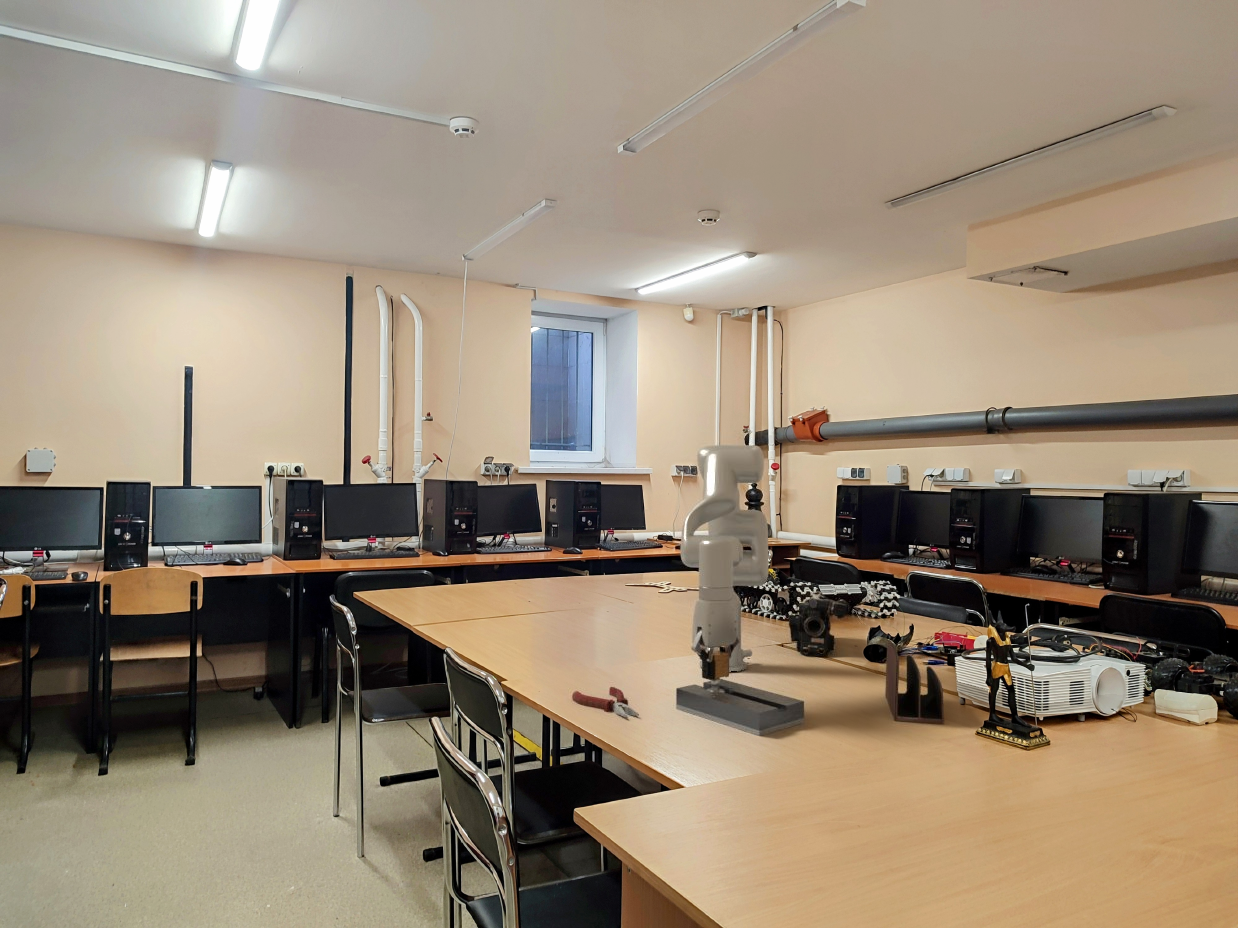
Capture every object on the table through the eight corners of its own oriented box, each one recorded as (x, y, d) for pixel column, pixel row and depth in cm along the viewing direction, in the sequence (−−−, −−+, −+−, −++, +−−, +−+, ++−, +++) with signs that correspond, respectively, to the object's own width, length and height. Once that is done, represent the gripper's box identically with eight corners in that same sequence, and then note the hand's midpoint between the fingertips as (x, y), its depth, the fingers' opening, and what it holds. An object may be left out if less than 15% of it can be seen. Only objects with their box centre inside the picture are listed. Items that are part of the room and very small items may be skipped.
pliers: (608, 725, 169) (608, 712, 169) (570, 701, 187) (570, 690, 187) (656, 718, 174) (656, 706, 174) (614, 695, 192) (614, 684, 192)
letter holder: (894, 721, 171) (894, 654, 171) (885, 697, 190) (885, 637, 191) (944, 725, 169) (944, 657, 169) (930, 700, 188) (930, 639, 188)
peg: (715, 692, 182) (715, 650, 183) (728, 696, 179) (728, 653, 179) (702, 695, 180) (702, 652, 180) (715, 699, 177) (715, 655, 177)
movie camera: (850, 659, 226) (847, 595, 227) (786, 657, 232) (783, 595, 234) (858, 642, 255) (855, 586, 257) (800, 641, 261) (798, 586, 263)
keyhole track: (720, 698, 188) (720, 678, 188) (804, 722, 169) (804, 700, 170) (676, 708, 179) (676, 688, 179) (759, 735, 161) (759, 712, 161)
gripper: (729, 589, 188) (729, 668, 188) (676, 595, 178) (676, 679, 177) (753, 593, 182) (753, 675, 182) (701, 599, 172) (700, 686, 171)
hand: (715, 676), depth 180 cm, fingers closed on peg, 4 cm apart
